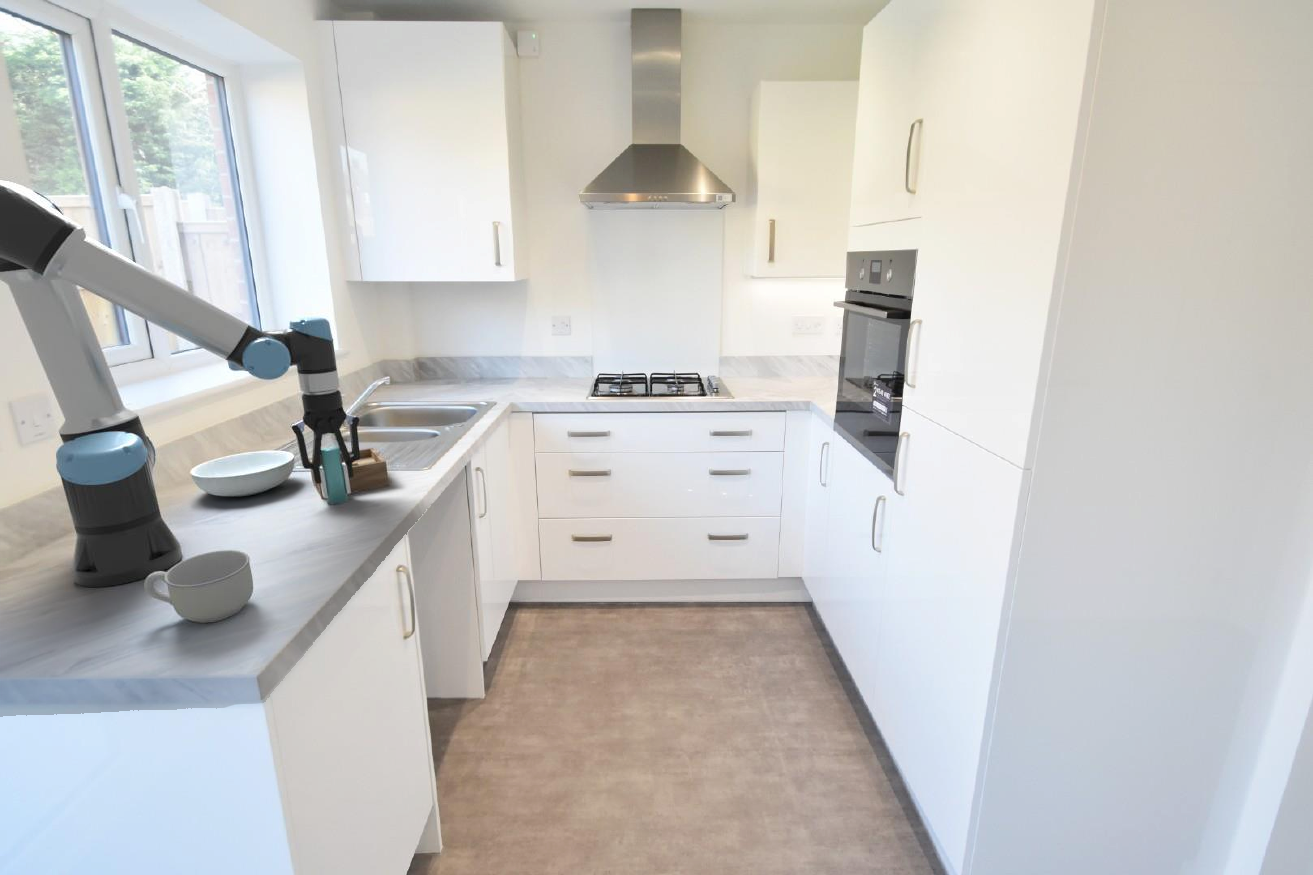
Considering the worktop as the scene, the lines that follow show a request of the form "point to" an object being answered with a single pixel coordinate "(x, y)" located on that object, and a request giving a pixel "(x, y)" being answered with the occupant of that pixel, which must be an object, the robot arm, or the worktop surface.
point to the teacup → (206, 585)
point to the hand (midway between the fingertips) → (336, 493)
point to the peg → (333, 475)
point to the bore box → (363, 472)
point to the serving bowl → (243, 473)
